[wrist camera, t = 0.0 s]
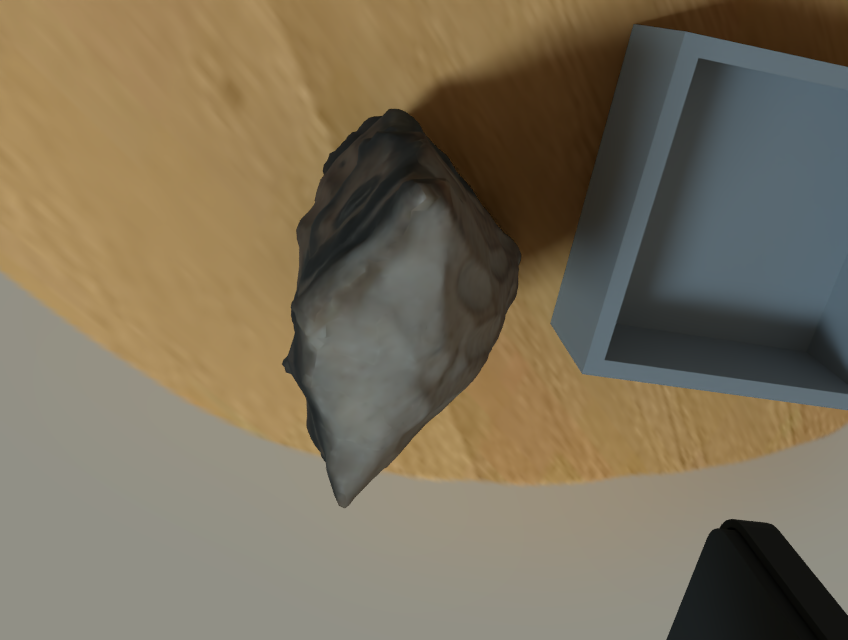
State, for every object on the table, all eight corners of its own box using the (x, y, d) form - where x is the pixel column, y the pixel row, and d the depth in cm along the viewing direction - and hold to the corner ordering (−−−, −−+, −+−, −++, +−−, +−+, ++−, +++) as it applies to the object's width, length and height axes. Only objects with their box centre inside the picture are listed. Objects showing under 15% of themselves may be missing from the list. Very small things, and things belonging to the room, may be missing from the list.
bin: (633, 24, 43) (685, 31, 37) (920, 86, 47) (1014, 103, 40) (550, 323, 50) (582, 373, 44) (806, 361, 53) (871, 413, 47)
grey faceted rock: (338, 351, 49) (341, 570, 31) (226, 174, 44) (150, 310, 26) (521, 257, 48) (636, 427, 30) (427, 63, 43) (496, 125, 25)
